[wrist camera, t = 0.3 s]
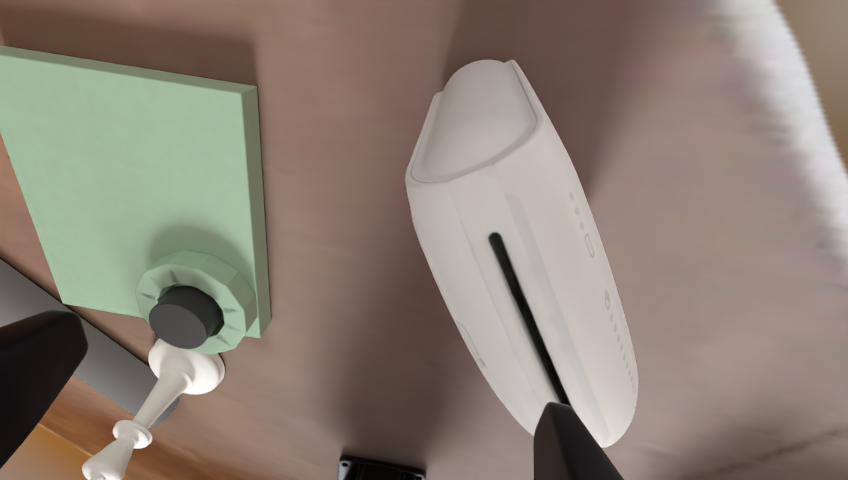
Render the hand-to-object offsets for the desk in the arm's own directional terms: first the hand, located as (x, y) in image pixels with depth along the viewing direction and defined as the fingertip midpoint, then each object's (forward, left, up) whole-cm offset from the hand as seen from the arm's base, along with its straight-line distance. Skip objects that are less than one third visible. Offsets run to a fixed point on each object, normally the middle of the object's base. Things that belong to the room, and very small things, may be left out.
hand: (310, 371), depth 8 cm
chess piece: (-17, +13, -14) cm, 26 cm away
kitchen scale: (-5, +13, -14) cm, 20 cm away
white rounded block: (0, -5, -14) cm, 15 cm away
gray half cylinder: (-16, +22, -14) cm, 31 cm away
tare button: (-10, +10, -11) cm, 18 cm away
